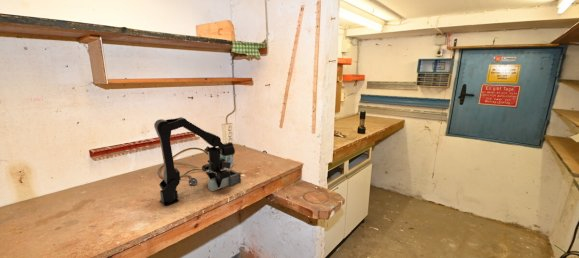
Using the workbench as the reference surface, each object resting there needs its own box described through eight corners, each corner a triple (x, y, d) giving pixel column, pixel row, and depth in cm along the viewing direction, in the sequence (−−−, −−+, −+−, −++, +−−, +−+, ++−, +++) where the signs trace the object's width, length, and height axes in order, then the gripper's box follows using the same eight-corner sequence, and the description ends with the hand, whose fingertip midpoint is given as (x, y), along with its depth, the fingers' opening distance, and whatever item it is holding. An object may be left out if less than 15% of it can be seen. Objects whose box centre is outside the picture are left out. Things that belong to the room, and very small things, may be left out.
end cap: (231, 186, 138) (230, 177, 137) (222, 182, 144) (221, 172, 143) (240, 182, 143) (240, 173, 142) (231, 178, 149) (231, 169, 147)
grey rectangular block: (212, 191, 133) (211, 182, 132) (208, 189, 135) (207, 180, 134) (231, 184, 141) (231, 175, 140) (227, 182, 144) (227, 173, 143)
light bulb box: (227, 170, 160) (226, 154, 158) (217, 169, 162) (216, 153, 159) (234, 164, 171) (233, 149, 168) (225, 163, 172) (224, 148, 169)
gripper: (238, 158, 133) (239, 186, 136) (218, 151, 145) (220, 176, 149) (219, 164, 125) (221, 193, 128) (200, 155, 137) (202, 182, 141)
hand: (216, 185), depth 137 cm, fingers closed on grey rectangular block, 4 cm apart
